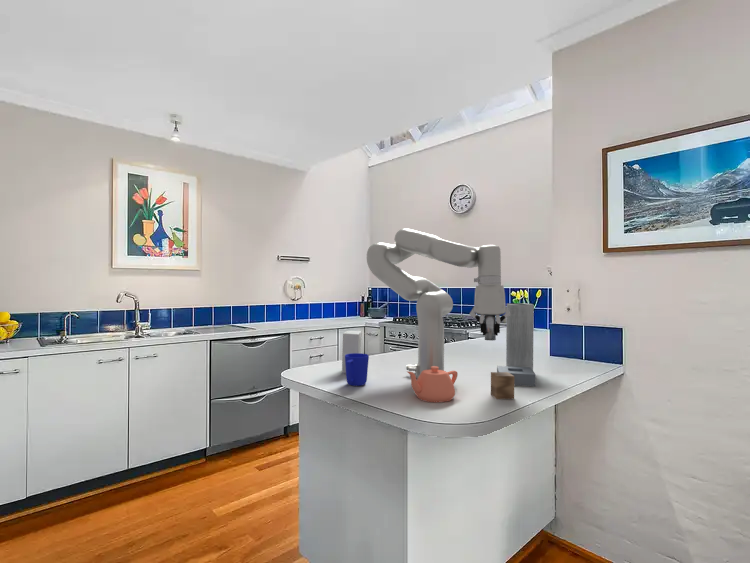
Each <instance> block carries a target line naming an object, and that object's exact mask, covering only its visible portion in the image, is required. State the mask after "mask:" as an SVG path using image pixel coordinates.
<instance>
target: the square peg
mask: <svg viewBox="0 0 750 563" xmlns="http://www.w3.org/2000/svg"><path fill="white" fill-rule="evenodd" d="M490 395H491V396H492V397H493V398H495V399H496V400H515V385H514V376H513V375H512V374H510V373H509V372H497V371H491V372H490Z"/></svg>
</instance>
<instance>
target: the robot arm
mask: <svg viewBox="0 0 750 563" xmlns="http://www.w3.org/2000/svg"><path fill="white" fill-rule="evenodd" d="M501 253H502V252H501V247H500V246H499V245H497V244H496V245H495V244H486V245H481V246H479V247H478V246H477V247H475V246H471V245H466V244H461V243H457V242H453V241H449V240H446V239H442V238H440V237H439V236H437V235H434V234H430V233H427V232H422V231H418V230H415V229H412V228H401V229H398V230H397V232H396V233H395V235H394V243H388V242H387V243H386V242H375V243H373V244H372V245H370V246H369V248H368V249H367V251H366V263H367V267H368V269H369V271H370V272H371V273H372V275H374V276H375V278H376V279H378V280H380V281H381V282H382V283H383V284H384V285H385V286H387V287H388V288H389V289H391V290H392V291H393V292H395V293H396V294H397V295H399V296H400V297H401V298H402V299H404V300H406V301H409V302H415V301H416V305H415V308H416V315H417V316H416V318H417V323H418V324H417V330H418V331H417V334H418V338H417V340H418V343H417V346H418V347H417V348H418V351H417V353H418V354H417V357H418V359H417V363H416V364H415V365H413V364H407V365H406V368H405V369H406V370H407V371H408V372H413V373H414V374H415V376H416V380H417V379H418V377H419V375H420V374H421V372H422V371H423V370H429V369H431V367H432V366H437V367H439V369H438V370H443V371H445V324H444V323H445V322H444V319H443V318H444V316H447V315H448V314H450V313H451V312H452V310H453V308H454V307H453V306H454V302H453V298H452V297H451V295H450V294H449V293H448V292H446V291H445V290H443V289H442V288H440V286H438V285H437V284H435V283H434V282H432V281H431V280H429V279H428V278H425V277H422V276H416V275H415V276H414V275H411V274H409V273H408V272H406V271H404V270H403V269H402V268H401V267H399V266H397V265H398V264H399V263H401V262H403V261H405V260H406V259H409V258H410V257H412V256H413V255H419V256H422V257H424V258H427V259H428V258H429V259H431V260H434V261H435V260H436V261H439V262H443V263H445V264H449V265H453V266H454V267H455V266H456V267H459V268H468V269H469V268H470V269H471V268H477V276H478V277H476V278H473V282H474V283H477V285H476V286H475V289H474V306H473V307H472V309H471V310H470V312H469V316H471V317H472V318H474V319H475V320H477V321H478V322H479V323H480V333H482V336H485V319H484V315H495V333H496V336H498V335H499V334H500V333H501V332H500V331H501V328H500V327H501V326H500V325H501V323H502V322H503V321H504V320H505V319H507V317H509V316H510V315H511V314H510V312H509V310H508V309H507V304H506V292H505V288H504V285H502V279H501V278H502V272H501V271H502V270H501V269H502V267H501V266H502V265H501V263H502V262H501V261H502V260H501V259H502V256H501ZM479 315H480V316H479Z"/></svg>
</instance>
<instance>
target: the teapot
mask: <svg viewBox="0 0 750 563" xmlns="http://www.w3.org/2000/svg"><path fill="white" fill-rule="evenodd" d="M438 369H439V367H437V366H432V367H431V369H429V370H423V371H422V372H421V374H420V375H419V377H418V379H417V378H416V376H415V374H414V373H415V372H414V371H409V370H407V371H406V372H407V373H408V374H409V376H410V384H411V389H412V390H413V391H414V394H415V395H416V397H417V398H418V399H419V400H421V401H423V402H428V403H446V402H450V401H451V400H452V399H454V397H455V395H456V389H455V388H456V387H455V383H456V382H457V379H458V375H459V374H458V371H456V370H451V371H450V370H449V371H446V370H444V371H443V370H438ZM450 375H452V377H451V376H450Z"/></svg>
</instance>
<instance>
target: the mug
mask: <svg viewBox="0 0 750 563" xmlns="http://www.w3.org/2000/svg"><path fill="white" fill-rule="evenodd" d="M369 355H370V354H367V353H363V352H361V353H352V354H346V355H345V365H346V373H345V377H346V378H345V379H346V383H347V385H348V386H352V387H360V386H364V385H366V384H367V381H368V371H369V370H368V369H369V359H370V356H369Z"/></svg>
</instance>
